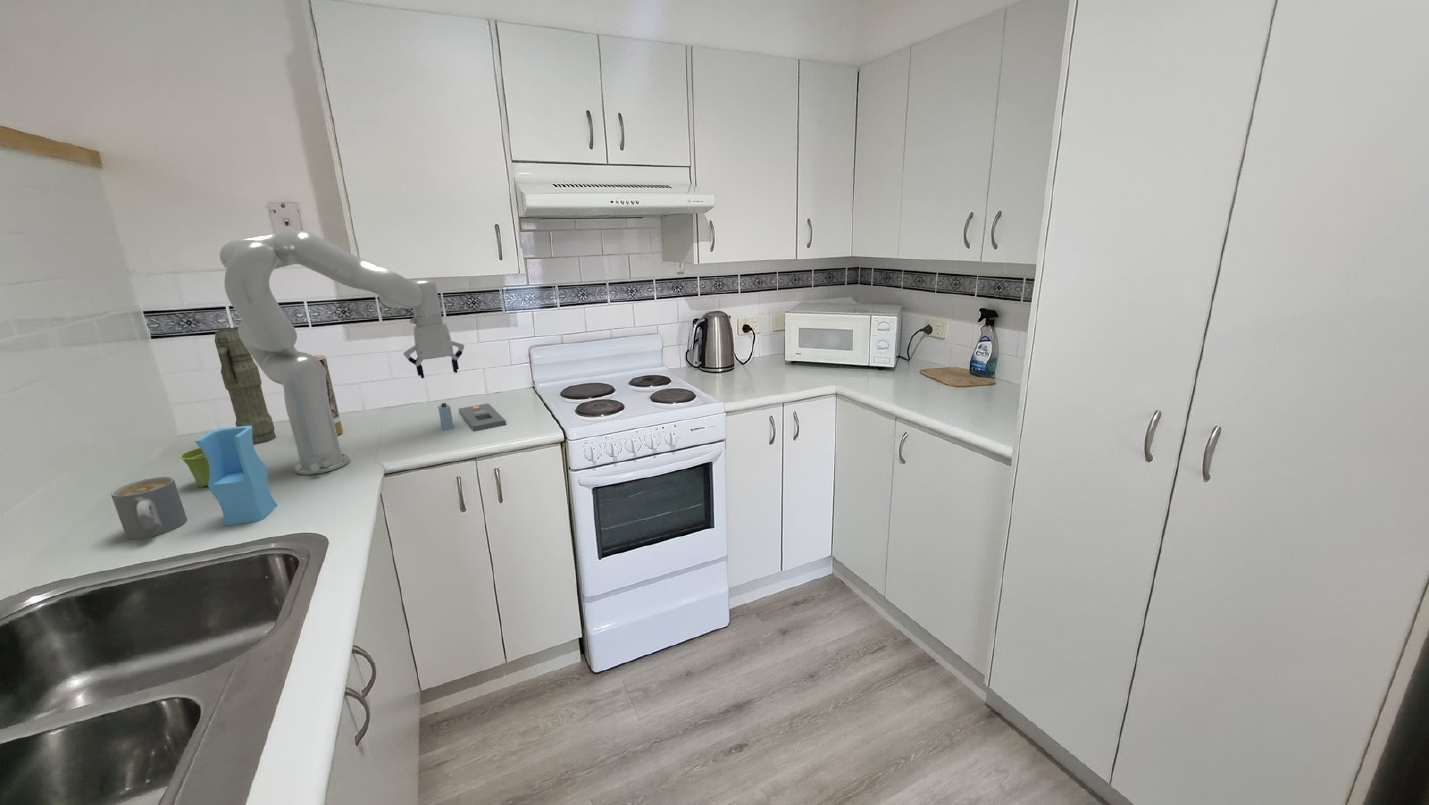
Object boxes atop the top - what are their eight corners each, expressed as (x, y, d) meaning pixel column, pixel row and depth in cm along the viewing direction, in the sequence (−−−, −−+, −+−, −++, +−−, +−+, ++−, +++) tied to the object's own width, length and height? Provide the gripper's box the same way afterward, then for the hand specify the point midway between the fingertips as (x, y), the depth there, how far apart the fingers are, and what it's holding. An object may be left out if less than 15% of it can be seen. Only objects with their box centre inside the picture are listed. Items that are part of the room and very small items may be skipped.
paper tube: (340, 436, 183) (322, 358, 175) (315, 439, 180) (296, 361, 173) (345, 430, 189) (327, 354, 181) (320, 433, 186) (302, 356, 179)
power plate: (506, 424, 188) (505, 418, 187) (473, 431, 183) (472, 424, 182) (489, 407, 207) (488, 401, 207) (459, 413, 202) (458, 406, 202)
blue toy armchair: (221, 526, 127) (194, 441, 121) (238, 510, 134) (213, 429, 129) (262, 520, 129) (238, 436, 123) (277, 505, 137) (254, 424, 131)
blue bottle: (453, 427, 187) (449, 404, 185) (443, 429, 186) (439, 405, 183) (451, 424, 190) (447, 401, 188) (441, 426, 189) (437, 402, 187)
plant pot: (243, 479, 153) (234, 448, 150) (199, 493, 145) (188, 460, 142) (227, 472, 157) (218, 442, 155) (183, 486, 149) (173, 454, 147)
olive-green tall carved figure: (233, 448, 175) (199, 333, 165) (251, 435, 186) (220, 327, 176) (267, 444, 178) (236, 331, 168) (282, 432, 189) (254, 324, 178)
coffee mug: (136, 523, 130) (122, 482, 127) (193, 512, 134) (180, 473, 131) (110, 551, 119) (93, 507, 116) (173, 538, 123) (158, 495, 120)
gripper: (398, 325, 171) (410, 382, 176) (461, 318, 179) (470, 372, 185) (396, 322, 177) (407, 377, 182) (456, 315, 185) (465, 368, 191)
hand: (439, 374), depth 183 cm, fingers open, 9 cm apart
